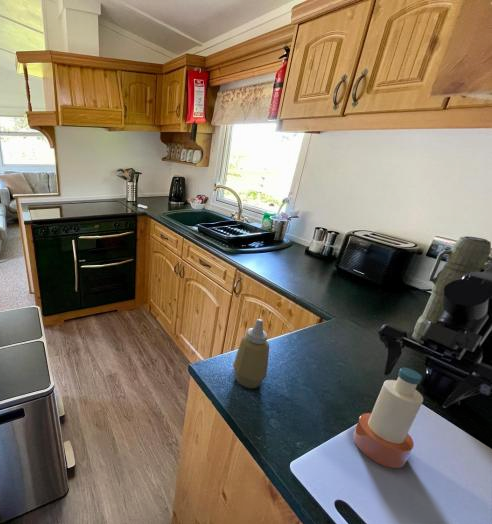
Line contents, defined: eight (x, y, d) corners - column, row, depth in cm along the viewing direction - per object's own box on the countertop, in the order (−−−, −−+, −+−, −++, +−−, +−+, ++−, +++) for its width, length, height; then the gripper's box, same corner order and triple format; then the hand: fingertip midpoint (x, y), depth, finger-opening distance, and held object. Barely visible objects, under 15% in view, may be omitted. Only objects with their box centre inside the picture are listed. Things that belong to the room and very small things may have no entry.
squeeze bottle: (238, 365, 80) (249, 307, 74) (268, 379, 75) (282, 319, 69) (226, 381, 74) (236, 320, 68) (257, 397, 69) (272, 333, 63)
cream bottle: (381, 416, 60) (405, 360, 55) (411, 440, 55) (440, 381, 50) (360, 421, 58) (383, 365, 54) (389, 446, 53) (417, 387, 48)
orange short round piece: (405, 446, 59) (413, 429, 57) (405, 477, 52) (414, 460, 51) (355, 421, 64) (361, 406, 62) (350, 448, 58) (357, 431, 56)
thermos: (458, 355, 88) (513, 245, 76) (408, 341, 94) (451, 237, 82) (450, 341, 95) (500, 239, 83) (404, 329, 101) (444, 232, 89)
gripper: (396, 289, 61) (354, 347, 60) (537, 335, 46) (485, 414, 45) (400, 314, 68) (362, 366, 66) (525, 361, 52) (479, 430, 51)
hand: (412, 389), depth 57 cm, fingers open, 9 cm apart
